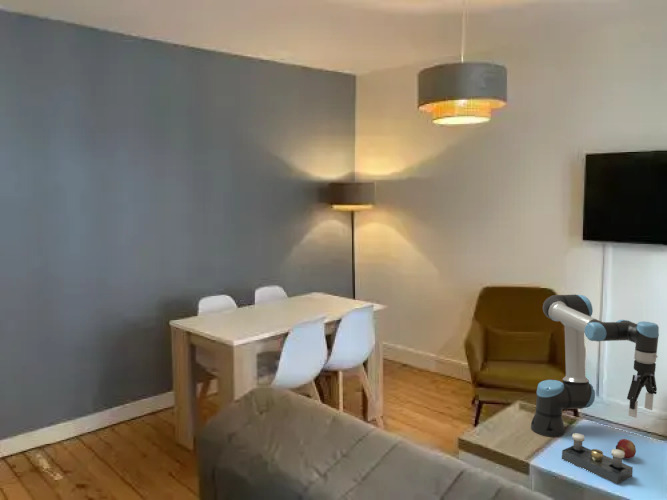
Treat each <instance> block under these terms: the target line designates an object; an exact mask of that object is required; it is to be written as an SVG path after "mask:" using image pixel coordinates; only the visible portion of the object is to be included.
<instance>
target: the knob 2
mask: <svg viewBox="0 0 667 500" xmlns="http://www.w3.org/2000/svg"><path fill="white" fill-rule="evenodd" d="M610 453H611V456H612V459H613V461H612V465H613V466H614V467H617V468H621V467H622V463H623V459H625V458H624V454H625V453H624V452H623V451H622V450H618V449H616V448H613V449H611V452H610Z"/></svg>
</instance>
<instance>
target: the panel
mask: <svg viewBox="0 0 667 500" xmlns="http://www.w3.org/2000/svg"><path fill="white" fill-rule="evenodd" d="M591 450H592V449H590V448H587V447H585V446H583V445H582V450H581V451H578V450H575V449H573V445H572V446H569V447H567V448H564V449H562V451H561V460H562V459H564V460H563V461H565V460H566V461H565V462H567V461H568V462H567V463H569V462H570V464H571V463H572V464H571V465H573V464H574V466H576V467H578V468H580V467H581V468H580V469H582V468H584V469H586V470H585V471H587V470H588V471H587V472H589V471H590V472H589V473H591V472H592V473H591V474H593V473H594V475H595V474H596V476H598V477H600V478H602V479H605V480H607V481H609V482H610V483H614V484H615V485H620V484H621V483H623V482H626V481H627V480H629V479H631V478H632V477H633V471H634V468H633V466H631V465H628V464H626V463H623V462H622V467H621V468H617V467H614V466H613V465H612V461H613V457H609V456H607V455H604V454H603V459H602V461H595V460H593V459H591ZM584 469H583V470H584Z"/></svg>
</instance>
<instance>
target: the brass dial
mask: <svg viewBox="0 0 667 500" xmlns="http://www.w3.org/2000/svg"><path fill="white" fill-rule="evenodd" d="M590 450H591V459H593V460H595V461H602V459H603V455H604V451H603V450H601V449H597V448H593V449H590Z"/></svg>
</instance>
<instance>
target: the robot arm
mask: <svg viewBox="0 0 667 500" xmlns="http://www.w3.org/2000/svg"><path fill="white" fill-rule="evenodd" d="M593 310H594V309H593V305H592V302H591V300H590V299H589V298H588V297H587V296H585V295H583V294H576V293H575V294H554V295H551V296H549V297H547V298H546V299H545V300H544V302H543V305H542V311H543V314H544V315H545V317H547V318H548V319H550V320H551V321H554V322H560V323H561V325H563V326H564V351H565V353H564V355H565V357H564V358H565V359H564V360H565V376H564V377H563V378H562V381H560V380H557V379H546V380H542V381H540V382H539V383H538V384H537V389H536V401H535V402H536V403H535V413H534V416H533V418H532V420H531V423H530V429H531V430H532V431H533V432H534V433H536V434H538V435H541V436H546V437H550V438H551V437H552V438H553V437H554V438H558V437H563V436H564V435H565V434H564V433H566V432H565V431H566V427H565V424H564V420H563V410H572V409H581V410H582V409H586V408H590V407H591V406H592V405H593V404H594V402H595V399H596V392H595V389H594V386H593V385H592V384H591V383H590V381H589V379H588V378H587V377H586V357H585V356H586V353H585V352H586V350H585V337H586V338H587V340H588V341H591V342H611V341H618V342H619V341H629V342H632V343H634V344H635V347H634V348H635V350H634V357H633V358H634V360H633V370H635V371H636V372H637V374H633V375H632V379H631V382H630V383H631V384H630V385H629V390H628V393H627V397H626V398H627V399H626V400H627V401H629V405H628V416H629V417H632V418H635V419H636V418H637V415H638V404H639V400H638V399H639V396H640V394H641V391H642V388H645V390H646V392H645V396H644V397H645V398H644V408H645V409H647V410H650V411H652V410H653V406H654V404H653V403H654V396H655V395H657V390H658V388H657V382H656V375H655V372H656V368H657V367H656V365H657V363H656V362H657V359H658V355H657V353H658V343H659V335H660V334H659V332H660V329H659V328H660V327H659V325H658V324H656V323H655V322H652V321H651V322H650V321H638V322H637V323H634V322H632V321H630V320H627V319H626V320H625V319H619V320H617V321H611V322H610V321H609V322H608V321H607V322H606V321H601V320H599V319H597V318H594V317H592V315H593V312H594V311H593Z"/></svg>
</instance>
